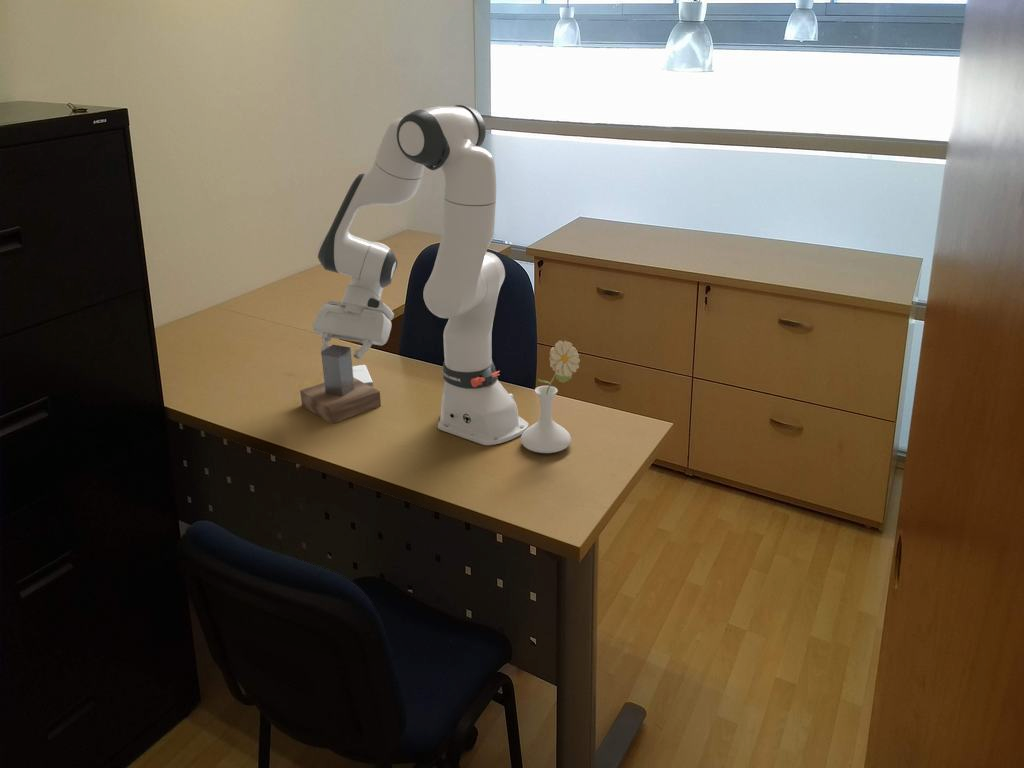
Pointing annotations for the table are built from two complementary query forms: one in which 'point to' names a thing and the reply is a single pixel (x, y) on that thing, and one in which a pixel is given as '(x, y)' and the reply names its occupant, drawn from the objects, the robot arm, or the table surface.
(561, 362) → the flower in vase
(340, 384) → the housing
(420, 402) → the table surface
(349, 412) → the stand
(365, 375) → the external hard drive
